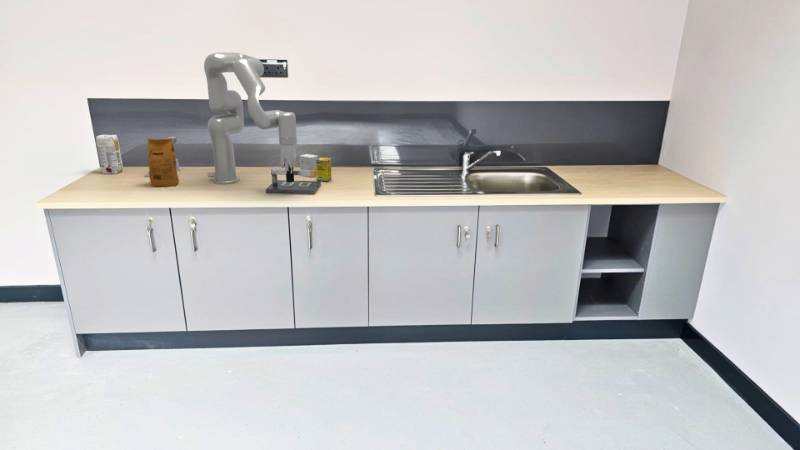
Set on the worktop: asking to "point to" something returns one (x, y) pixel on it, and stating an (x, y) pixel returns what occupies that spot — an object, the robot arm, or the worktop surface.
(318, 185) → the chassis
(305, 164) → the small box
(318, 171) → the supplement box
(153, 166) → the coffee package
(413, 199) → the worktop surface
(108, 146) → the white flour bag
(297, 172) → the cable arm
